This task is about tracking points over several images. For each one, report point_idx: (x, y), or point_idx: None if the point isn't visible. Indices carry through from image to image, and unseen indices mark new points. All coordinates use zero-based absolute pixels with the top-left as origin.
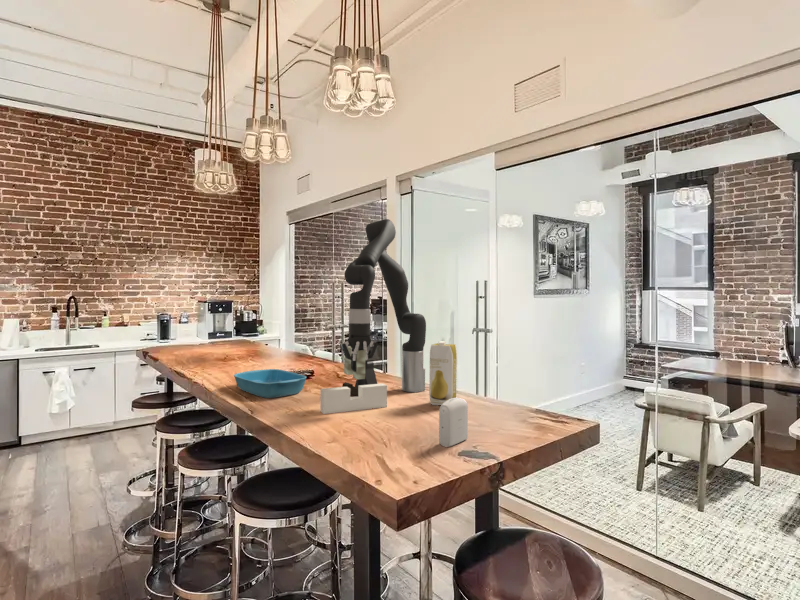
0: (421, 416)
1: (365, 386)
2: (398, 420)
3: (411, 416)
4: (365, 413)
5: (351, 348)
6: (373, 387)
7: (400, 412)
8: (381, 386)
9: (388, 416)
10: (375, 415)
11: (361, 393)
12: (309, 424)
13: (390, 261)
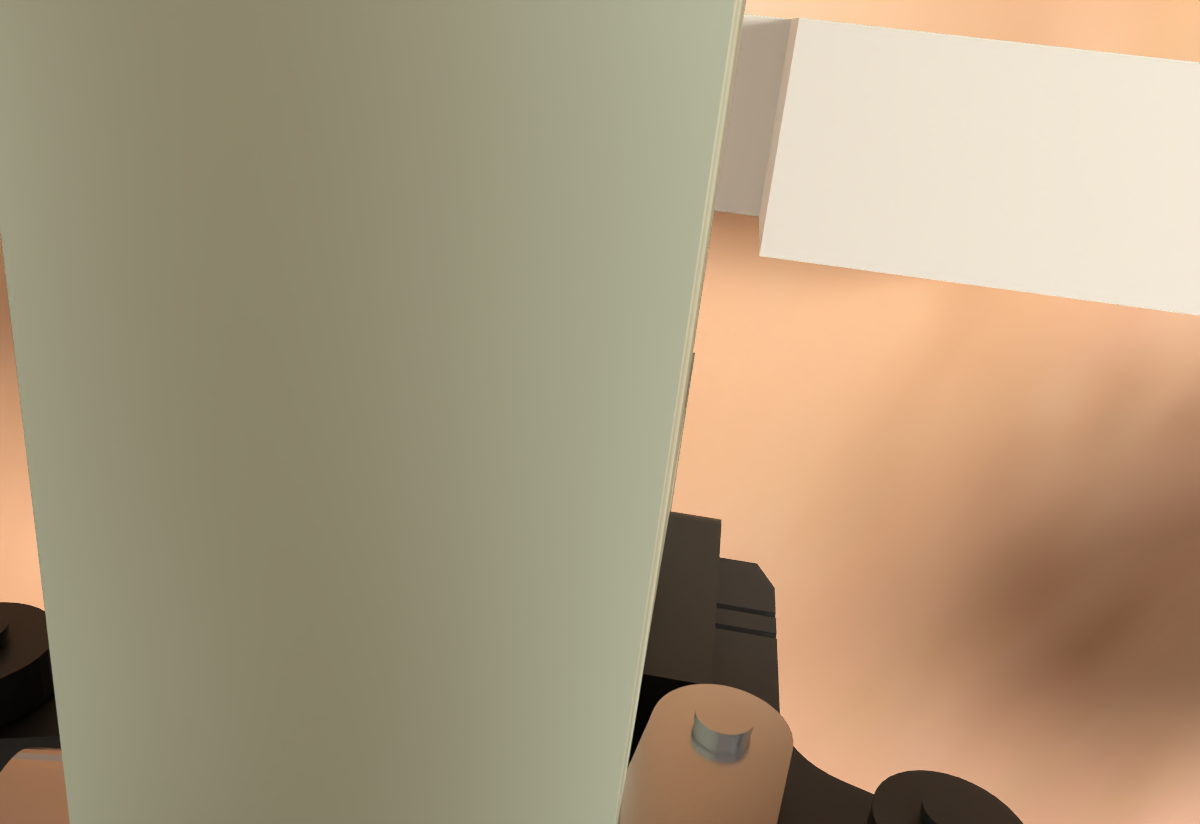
0: (1174, 806)
1: (871, 197)
2: (856, 780)
3: (1081, 750)
4: (701, 372)
5: (72, 412)
6: (1003, 285)
7: (1102, 563)
8: (1190, 310)
9: (861, 618)
10: (757, 509)
11: (764, 194)
12: (7, 425)
13: None
